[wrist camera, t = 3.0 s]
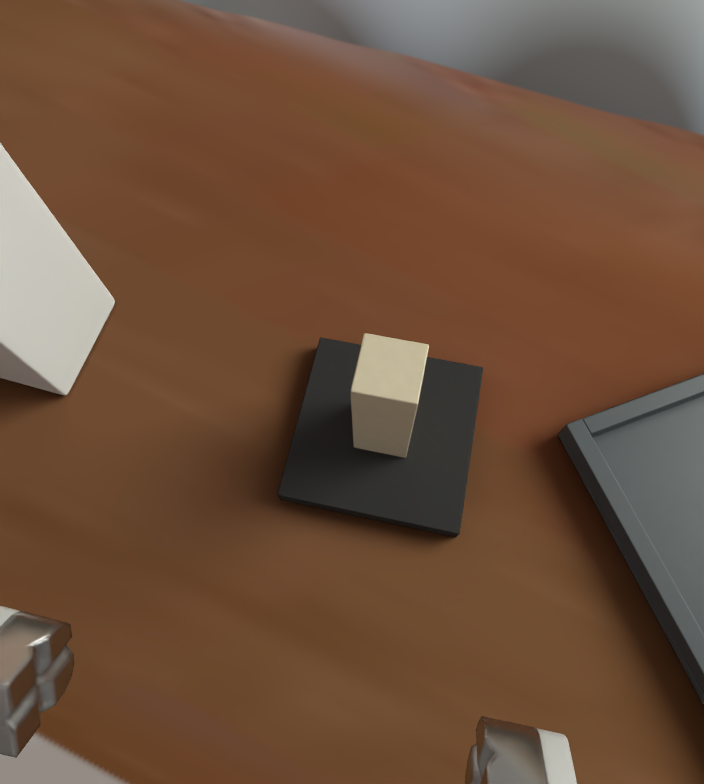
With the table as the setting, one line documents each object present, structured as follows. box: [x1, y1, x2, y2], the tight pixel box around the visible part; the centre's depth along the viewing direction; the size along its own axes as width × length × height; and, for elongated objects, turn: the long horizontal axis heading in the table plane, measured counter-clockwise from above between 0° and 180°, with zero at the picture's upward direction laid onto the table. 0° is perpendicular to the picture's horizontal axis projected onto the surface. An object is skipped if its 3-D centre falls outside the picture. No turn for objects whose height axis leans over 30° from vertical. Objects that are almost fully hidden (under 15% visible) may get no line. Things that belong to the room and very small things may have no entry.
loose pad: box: [278, 333, 483, 537], centre depth 30 cm, size 10×10×9 cm
